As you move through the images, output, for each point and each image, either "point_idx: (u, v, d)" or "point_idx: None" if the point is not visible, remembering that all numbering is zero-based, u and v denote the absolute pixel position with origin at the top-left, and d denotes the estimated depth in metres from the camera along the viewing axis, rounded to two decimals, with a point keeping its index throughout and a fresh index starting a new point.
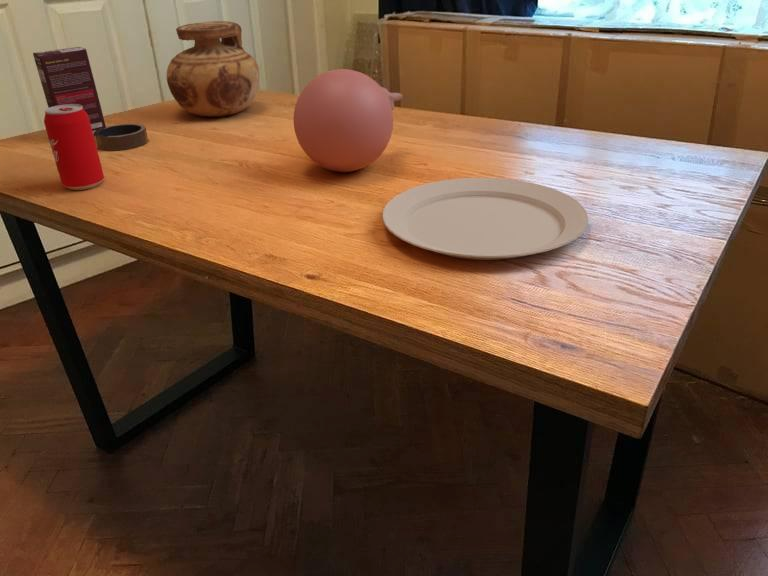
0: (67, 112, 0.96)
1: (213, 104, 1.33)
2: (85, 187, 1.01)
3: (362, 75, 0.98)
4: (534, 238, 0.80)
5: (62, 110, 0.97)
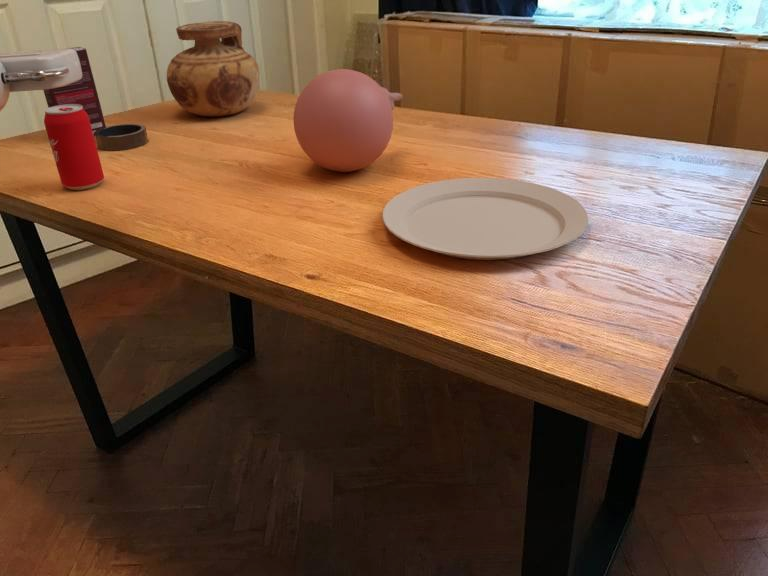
0: (67, 112, 0.96)
1: (213, 104, 1.33)
2: (85, 187, 1.01)
3: (362, 75, 0.98)
4: (534, 238, 0.80)
5: (62, 110, 0.97)
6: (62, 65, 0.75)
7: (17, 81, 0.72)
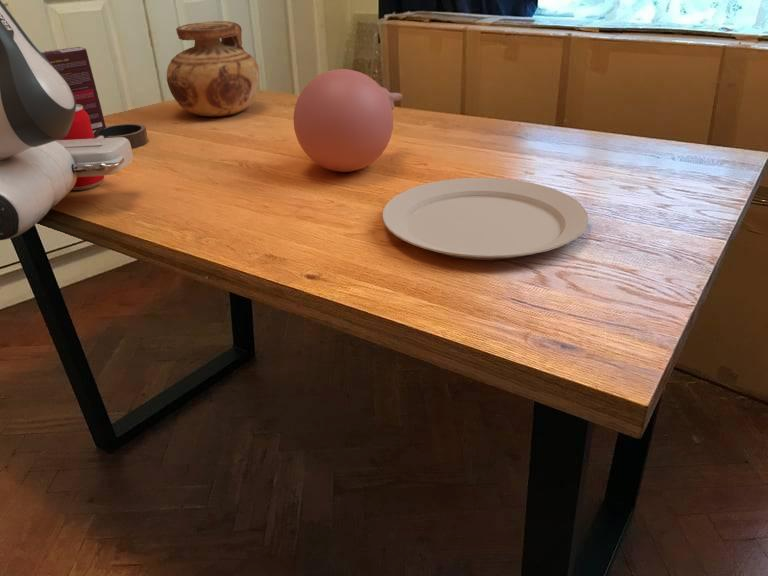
0: None
1: (213, 104, 1.33)
2: (85, 187, 1.01)
3: (362, 75, 0.98)
4: (534, 238, 0.80)
5: None
6: (119, 155, 0.93)
7: (84, 171, 0.90)
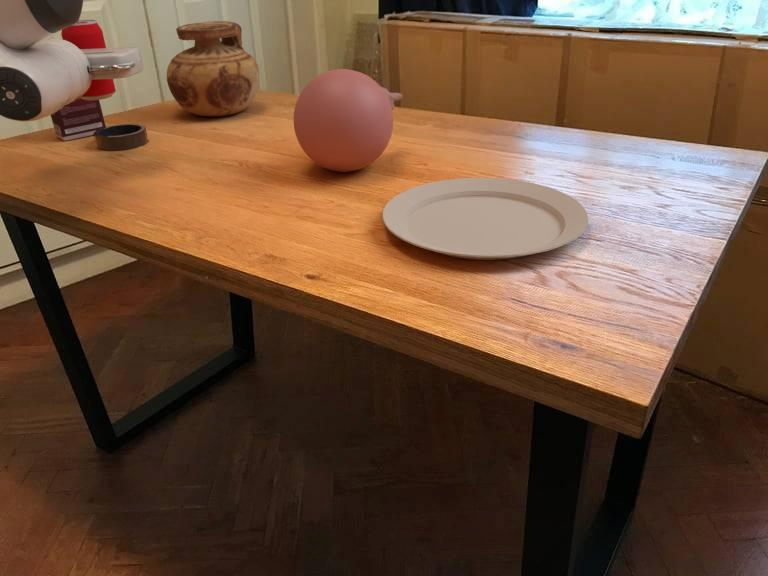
0: (83, 24, 1.04)
1: (213, 104, 1.33)
2: (98, 97, 1.09)
3: (362, 75, 0.98)
4: (534, 238, 0.80)
5: (78, 23, 1.05)
6: (130, 60, 1.01)
7: (98, 72, 0.98)
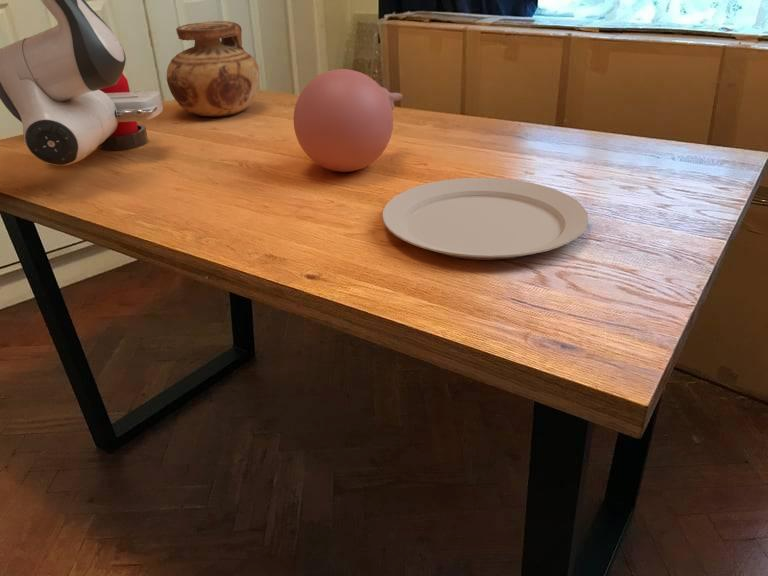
0: None
1: (213, 104, 1.33)
2: None
3: (362, 75, 0.98)
4: (534, 238, 0.80)
5: None
6: (152, 104, 1.12)
7: (124, 116, 1.09)
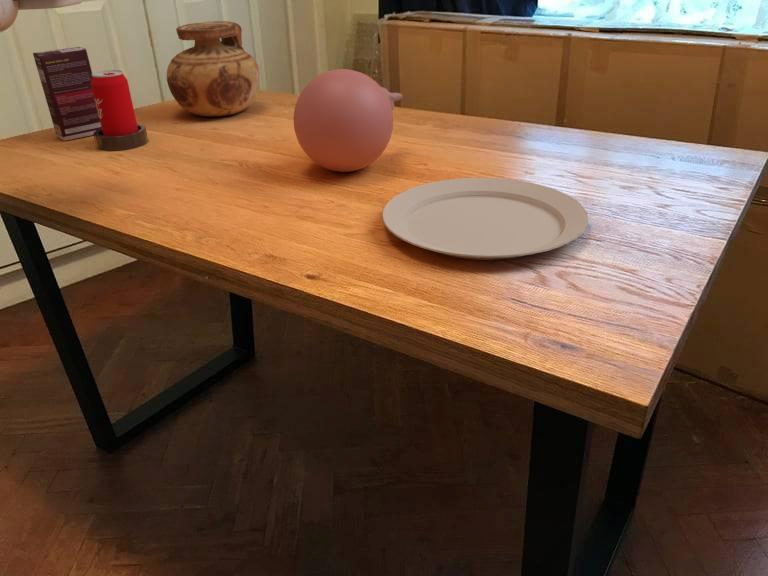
0: (110, 76, 1.15)
1: (213, 104, 1.33)
2: None
3: (362, 75, 0.98)
4: (534, 238, 0.80)
5: (106, 74, 1.16)
6: None
7: None
